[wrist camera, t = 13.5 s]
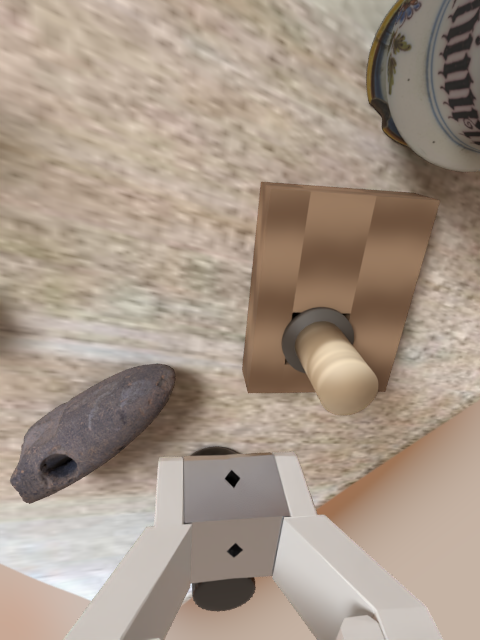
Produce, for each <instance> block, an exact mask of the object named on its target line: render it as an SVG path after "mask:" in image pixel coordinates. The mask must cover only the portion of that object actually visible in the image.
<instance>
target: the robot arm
mask: <svg viewBox="0 0 480 640" xmlns="http://www.w3.org/2000/svg"><path fill="white" fill-rule="evenodd" d="M264 576H273V580H274V581H275V583H276V584H277V585H278V587H279V588H280V590H281V591H282V592H283V594H284V595H285V596H286V598H287V599H288V601H289V602H290V603H291V605H292V606H293V607H294V609H295V610H296V611H297V612H298V614H299V616H300V617H301V618H302V620H303V621H304V622H305V624H306V625H307V626H308V628H309V629H310V631H311V632H312V633H313V634H314V636H315V637H316V639H317V640H443V638H442V636H441V634H440V632H439V630H438V628H437V626H436V624H435V622H434V620H433V618H432V616H431V614H430V612H429V610H428V608H427V606H425V605H424V604H423V603H422V602H421V601H420V600H419V599H418V598H417V597H415V596H414V595H413V594H412V593H411V592H410V591H409V590H408V589H407V588H405V587H404V586H403V585H402V584H401V583H400V582H399V581H398V580H397V579H395V578H394V577H393V576H392V575H391V574H390V573H389V572H388V571H386V570H385V569H384V568H383V567H382V566H381V565H380V564H379V563H378V562H376V561H375V560H374V559H373V558H372V557H371V556H370V555H369V554H368V553H367V552H365V551H364V550H363V549H362V548H361V547H360V546H359V545H358V544H357V543H355V542H354V541H353V540H352V539H351V538H350V537H349V536H348V535H347V534H345V533H344V532H343V531H342V530H341V529H340V528H339V527H338V526H336V525H335V524H334V523H333V522H332V521H331V520H330V519H328V517H326V516H325V515H317V512H316V509H315V506H314V503H313V500H312V497H311V494H310V491H309V489H308V486H307V483H306V480H305V477H304V474H303V471H302V468H301V465H300V462H299V460H298V457H297V454H296V453H295V452H294V451H290V452H272V453H270V452H269V453H251V454H232V455H212V456H184V459H183V456H182V457H160V458H159V462H158V474H157V490H156V505H155V520H154V526H151V527H146V528H145V530H144V531H143V532H142V534H141V535H140V536H139V538H138V539H137V541H136V542H135V543H134V545H133V546H132V547H131V549H130V550H129V551H128V553H127V554H126V555H125V557H124V558H123V559H122V561H121V562H120V563H119V565H118V566H117V567H116V569H115V570H114V572H113V573H112V574H111V576H110V577H109V578H108V580H107V581H106V582H105V584H104V585H103V586H102V588H101V589H100V590H99V592H98V593H97V594H96V596H95V597H94V598H93V600H92V601H91V603H90V604H89V605H88V607H87V608H86V609H85V611H84V612H83V613H82V615H81V616H80V617H79V619H78V620H77V621H76V623H75V624H74V625H73V627H72V628H71V630H70V631H69V632H68V634H67V635H66V636H65V638H64V639H63V640H164V639H165V637H166V635H167V633H168V631H169V629H170V627H171V625H172V623H173V621H174V619H175V617H176V614H177V613H178V610H179V609H180V607H181V604H182V602H183V600H184V598H185V596H186V594H187V592H188V590H189V588H190V583H199V582H207V581H215V580H223V579H232V578H248V577H264Z"/></svg>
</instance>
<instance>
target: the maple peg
mask: <svg viewBox="0 0 480 640" xmlns="http://www.w3.org/2000/svg"><path fill="white" fill-rule="evenodd" d="M353 343H354V331H353V328H352V326H351V324H350V322H349V321H348V320H347V318H346V317H345V316H344V315H343V314H342V313H340V312H339V311H337V310H335V309H332V308H328V307H316V308H311V309H308V310H305V311H303V312H294V313H293V314H292V319H291V321H290V323H289V324H288V325H287V327H286V329H285V330H284V333H283V336H282V343H281V344H282V351H283V354H284V356H285V358H286V360H287V362H288V363H289V364H290V365H291V366H292V367H293V368H294V369H296V370H297V371H299V372H302V373H306V374H307V376H308V378H309V380H310V382H311V384H312V386H313V388H314V390H315V392H316V394H317V396H318V397H319V399H320V401H321V403H322V405H323V407H324V408H325V409H326V410H327V411H328V412H330V413H332V414H335V415H343V416H344V415H351V414H355V413H357V412H359V411H361V410H363V409H365V408H366V407H367V406H368V405H369V404H370V403H371V402H372V401H373V400H374V398H375V396H376V394H377V392H378V379H377V377H376V375H375V374H374V372H373V371H372V370H371V368H370V367H369V366H368V365H367V363H366V362H365V361H364V360H363V358H362V357H361V356H360V354H359V353H358V352H357V351H356V349H355V348H354V347H353Z"/></svg>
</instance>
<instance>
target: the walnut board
mask: <svg viewBox="0 0 480 640" xmlns="http://www.w3.org/2000/svg"><path fill="white" fill-rule="evenodd" d="M439 203H440V200H437V199H433V198H430V197H426V196H423V195H419V194H416V193H407V192H393V191H379V190H366V189H352V188H338V187H325V186H311V185H297V184H284V183H270V182H261V187H260V197H259V207H258V217H257V227H256V237H255V247H254V257H253V267H252V277H251V287H250V297H249V307H248V317H247V327H246V337H245V347H244V357H243V367H242V371H243V375H244V379H245V383H246V387H247V391H248V393H297V392H315V390H314V388H313V386H312V384H311V382H310V380H309V378H308V376H307V374H306V373H302V372H299V371H297V370H296V369H294V368H293V367H292V366H291V365H290V364H289V363H288V362H287V360H286V358H285V356H284V354H283V351H282V344H281V343H282V336H283V333H284V330H285V329H286V327H287V325H288V324H289V323H290V321H291V319H292V313H293V312H303V311H305V310H308V309H311V308H316V307H328V308H332V309H335V310H337V311H339V312H340V313H342V314H343V315H344V316H345V317H346V318H347V320H348V321H349V322H350V324H351V326H352V328H353V331H354V343H353V347H354V348H355V349H356V351H357V352H358V353H359V354H360V356H361V357H362V358H363V360H364V361H365V362H366V363H367V365H368V366H369V367H370V368H371V370H372V371H373V372H374V374H375V375H376V377H377V379H378V392H385V390H386V387H387V384H388V380H389V377H390V373H391V370H392V366H393V363H394V359H395V356H396V352H397V349H398V345H399V342H400V338H401V335H402V332H403V328H404V325H405V321H406V318H407V314H408V311H409V307H410V304H411V300H412V297H413V293H414V290H415V286H416V283H417V280H418V276H419V273H420V269H421V266H422V262H423V259H424V255H425V252H426V248H427V245H428V241H429V238H430V235H431V231H432V228H433V224H434V221H435V217H436V214H437V210H438V207H439Z"/></svg>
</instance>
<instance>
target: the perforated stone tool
mask: <svg viewBox="0 0 480 640" xmlns="http://www.w3.org/2000/svg"><path fill="white" fill-rule="evenodd" d="M174 383H175V373H174V370H173V368H171V367H170V366H167V365H162V364H150V365H142V366H138V367H134V368H131V369H128V370H125V371H122V372H120V373H117V374H115V375H113V376H111V377H109V378H107V379H105V380H103V381H101V382H100V383H98V384H96V385H94V386H92V387H91V388H89V389H87V390H86V391H84V392H82V393H80V394H79V395H77V396H75V397H73V398H72V399H71V400H70V401H69V402H67V403H64V404H62V405H60V406H58V407H57V408H55V409H54V410H52V411H51V412H49V413H48V414H47V415H45V416H44V417H42V418H41V419H40V420H39V421H37V422H36V423H35V424H34V425H33V426H31V428H30V429H29V430H28V432H27V433H26V435H25V436H24V443H23V445H22V451H21V455H20V460H19V463H18V465H17V467H16V469H15V471H14V473H13V474H12V476H11V479H10V482H11V484H12V486H13V487H14V488H15V489H16V491H18V492H19V494H20V496H21V497H22V499H23V501H25V502H26V503H29V504H30V503H33V502H35V501H38V500H40V499H43V498H45V497H47V496H50V495H52V494H54V493H56V492H57V491H60V490H62V489H64V488H66V487H68V486H69V485H71V484H73V483H75V482H76V481H78V480H80V479H81V478H83V477H85V476H86V475H88V474H89V473H91V472H92V471H94V470H95V469H97V468H98V467H100V466H101V465H103V464H104V463H105V462H107V461H108V460H110V459H111V458H112V457H114V456H115V455H116V454H117V453H119V452H120V451H121V450H122V449H124V448H125V447H126V446H127V445H128V444H129V443H130V442H132V441H133V440H134V439H135V438H136V437H137V436H138V435H139V434H140V433H141V432H143V431H144V429H146V428H147V427H148V425H150V424H151V422H152V421H153V420H154V419H155V418H156V416H157V415H158V414H159V413H160V412H161V410H162V409H163V407H164V406H165V404H166V403H167V401H168V399H169V397H170V395H171V392H172V390H173V388H174Z"/></svg>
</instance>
